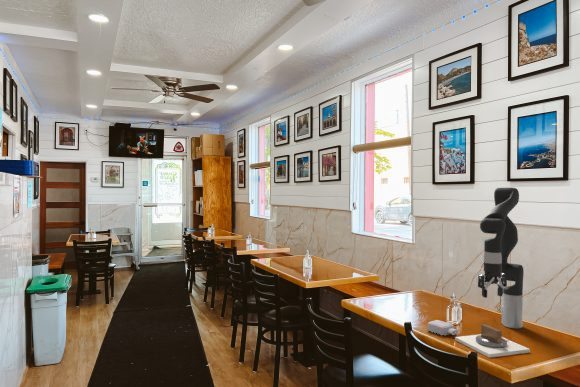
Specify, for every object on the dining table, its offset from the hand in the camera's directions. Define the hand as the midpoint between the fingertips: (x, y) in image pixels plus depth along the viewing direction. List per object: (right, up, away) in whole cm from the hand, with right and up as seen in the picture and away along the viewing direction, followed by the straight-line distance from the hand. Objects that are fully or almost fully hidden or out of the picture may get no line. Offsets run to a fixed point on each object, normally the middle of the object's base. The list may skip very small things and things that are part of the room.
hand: (492, 296), depth 192 cm
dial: (0, -21, 0) cm, 21 cm away
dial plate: (0, -23, 0) cm, 23 cm away
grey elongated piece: (-15, -23, +17) cm, 33 cm away
